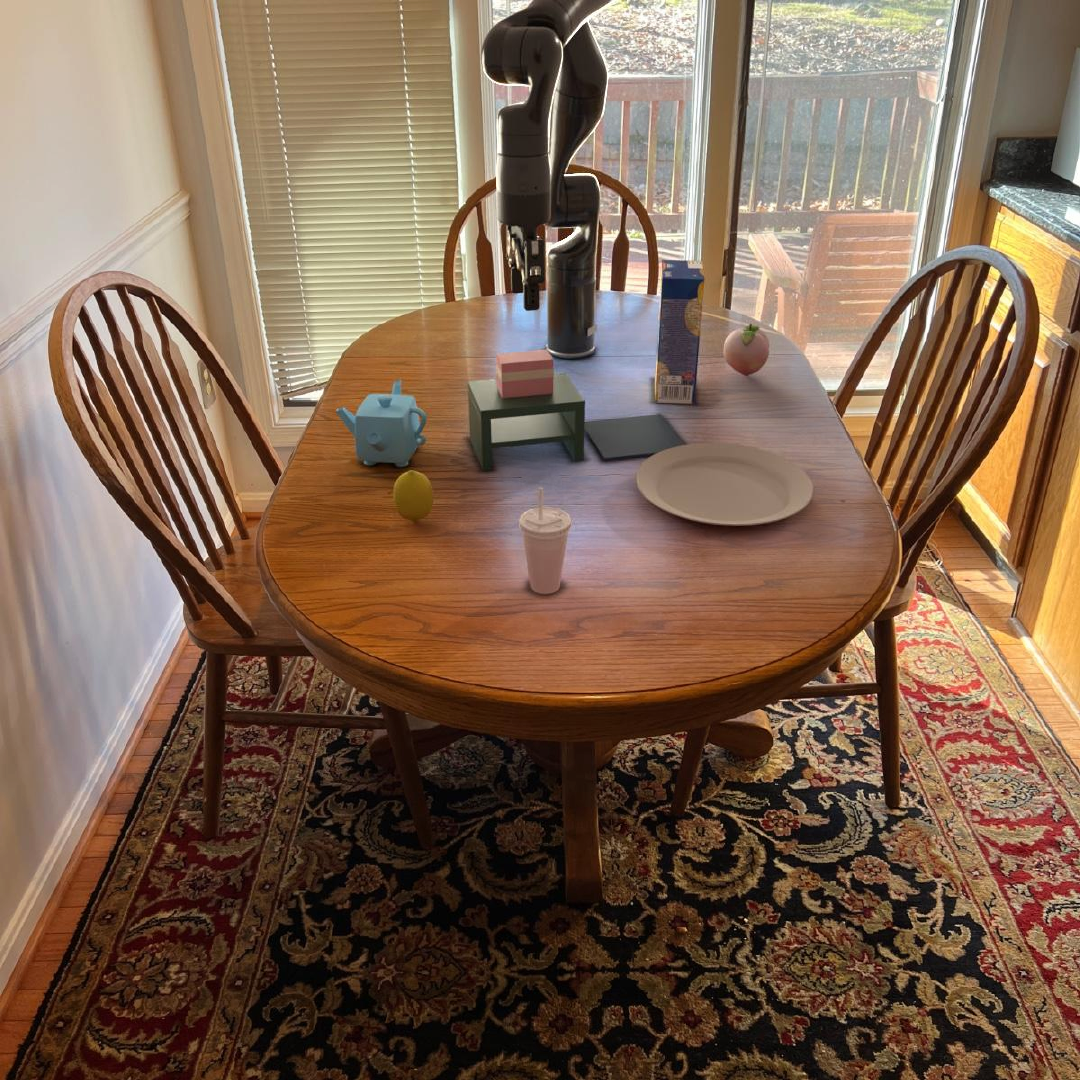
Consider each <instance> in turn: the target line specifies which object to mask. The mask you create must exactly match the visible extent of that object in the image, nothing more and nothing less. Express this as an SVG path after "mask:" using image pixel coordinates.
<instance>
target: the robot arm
mask: <svg viewBox="0 0 1080 1080" xmlns="http://www.w3.org/2000/svg"><path fill="white" fill-rule="evenodd" d="M615 1H617V0H531V2H530V3H529V4H528V5H527V7H526V8H523V9H521V10H518V11H516V12H514V13H513V14H511V15H509V16H507V17H505V18H503V19H502V20H500V21H498V22H497V23H496V24H494V25H493V26H492V27H491V28H490V30H489V31H488V32H487V34H486V35H485V38H484V40H483V43H482V45H481V51H480V62H481V66H482V70H483V73H485V75H486V76H487V78H488V79H489V80H491V81H492V82H494V83H496V84H498V85H503V86H522V87H523V86H524V87H529V92H528V95H527V96H526V99H525V100H524V101H523V102H519V103H513V104H508V105H506V106H503V107H501V108H500V109H499V110H498V113H497V118H496V137H497V138H496V140H497V144H496V145H497V157H496V159H497V160H496V168H495V169H496V170H495V173H496V174H495V175H496V178H495V179H496V211H497V213H496V215H497V217H496V218H497V220H498V222H499V223H500V224H502V225H505V227H506V228H505V234H506V235H505V238H506V239H505V240H506V242H505V243H506V249H505V250H506V253H505V257H506V260H507V261H508V266H509V268H510V288H511V289H510V290H511V292H512V293H513V294H523V297H522V299H523V309H524V310H525V311H527V312H533V311H539V309H540V305H541V304H540V285H542V284H544V283H545V249H544V248H545V247H544V246H545V242H544V239H541V236H540V235H539V236H538V230H537V229H538V227H539V226H541V225H543V226H544V227H545V228H548V229H571V228H576V229H575V231H574V232H572V234H571V235H569V236H567V238H565V239H563V240H561V241H558V242H556V243H554V244H552V245H551V246H549V248H548V249H547V252H546V299H547V300H546V303H547V304H546V349H547V351H548V352H549V354H550V355H551V357H556V358H559V359H560V358H561V359H567V360H569V359H581V358H586V357H589V356H591V355H592V354H594V353H595V347H596V346H595V333H597V323H595V322H596V287H597V286H596V283H597V281H596V280H597V278H596V274H597V254H598V253H597V252H598V237H599V223H600V222H599V221H600V210H601V189H600V184H599V181H598V179H597V177H596V176H595V175H594V174H591V173H573V174H569V173H568V174H566V173H567V170H568V167H569V165H570V163H571V161H572V159H573V158H574V156H575V154H576V153H577V151H578V150H579V149H580V148H581V147H582V145H584V144H585V142H586V141H587V139H588V138H589V137H590V135H591V134H592V133H594V131H595V129H596V128H597V126H598V125H599V123H600V121H601V120H602V117H603V115H604V112H605V105H606V99H607V91H608V83H609V73H608V68H607V65H606V60H605V58H604V55H603V53H602V51H601V48H600V46H599V44H598V42H597V39H596V37H595V35H594V32H593V30H592V28H591V25H590V23H589V19H591V18H593V17H594V16H596V15H598V14H599V13H601V12H602V11H603V10H604V9H606V8H607V7H609V6H610V5H611V4H613V3H614V2H615ZM532 270H533V271H534V274H531V271H532Z"/></svg>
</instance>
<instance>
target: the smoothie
mask: <svg viewBox="0 0 1080 1080" xmlns="http://www.w3.org/2000/svg"><path fill="white" fill-rule="evenodd" d="M537 502H538V503H537V506H538V507H535V508H531V509H528V510H526V511H525V512H523V513H522V514H521V515H520V516H519V519H518V520H519V521H518V522H519V525H518V529H519V531H520V532H521V533H522V539H523V540H522V541H523V546H524V551H525V553H524V554H525V559H526V566H527V571H528V578H529V584H530V585H529V586H530V589H531V590H532V591H533V592H535V593H537V594H541V595H549V594H553V593H555V592H557V591H558V590H559V589H560V587H561V581H562V575H563V567H564V561H565V555H566V548H567V547H566V546H567V542H568V536H569V533H570V531H571V530H572V518H571V516H570V515H569V514H568V513H567V512H566V511H564V510H562V509H560V508H555V507H550V506H544V488H543V487H542V486H538V488H537Z"/></svg>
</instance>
